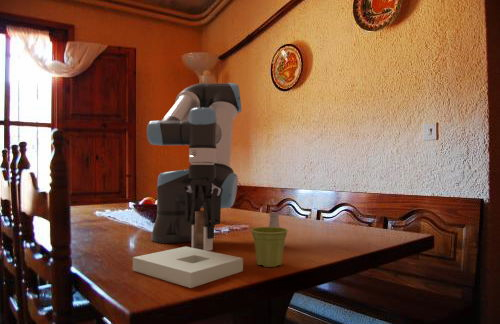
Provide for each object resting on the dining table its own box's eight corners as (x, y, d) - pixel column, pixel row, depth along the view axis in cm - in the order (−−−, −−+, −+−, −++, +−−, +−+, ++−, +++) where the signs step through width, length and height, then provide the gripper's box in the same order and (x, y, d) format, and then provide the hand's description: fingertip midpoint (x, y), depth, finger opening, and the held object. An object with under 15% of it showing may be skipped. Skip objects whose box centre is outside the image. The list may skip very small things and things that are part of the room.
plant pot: (248, 260, 95) (249, 226, 95) (284, 259, 96) (284, 226, 96) (252, 269, 86) (252, 232, 86) (291, 269, 87) (291, 232, 87)
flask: (284, 249, 109) (284, 215, 109) (260, 247, 110) (260, 214, 111) (287, 244, 116) (287, 212, 116) (264, 243, 118) (264, 212, 118)
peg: (191, 255, 100) (191, 211, 100) (202, 252, 103) (202, 210, 104) (201, 257, 98) (201, 212, 98) (212, 254, 101) (212, 211, 101)
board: (132, 270, 85) (132, 257, 85) (185, 257, 97) (185, 246, 97) (190, 288, 72) (190, 272, 72) (242, 271, 85) (242, 258, 85)
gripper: (172, 164, 104) (171, 247, 103) (215, 163, 93) (214, 256, 92) (192, 164, 109) (191, 243, 109) (234, 164, 99) (234, 251, 98)
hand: (201, 248), depth 100 cm, fingers closed on peg, 4 cm apart
